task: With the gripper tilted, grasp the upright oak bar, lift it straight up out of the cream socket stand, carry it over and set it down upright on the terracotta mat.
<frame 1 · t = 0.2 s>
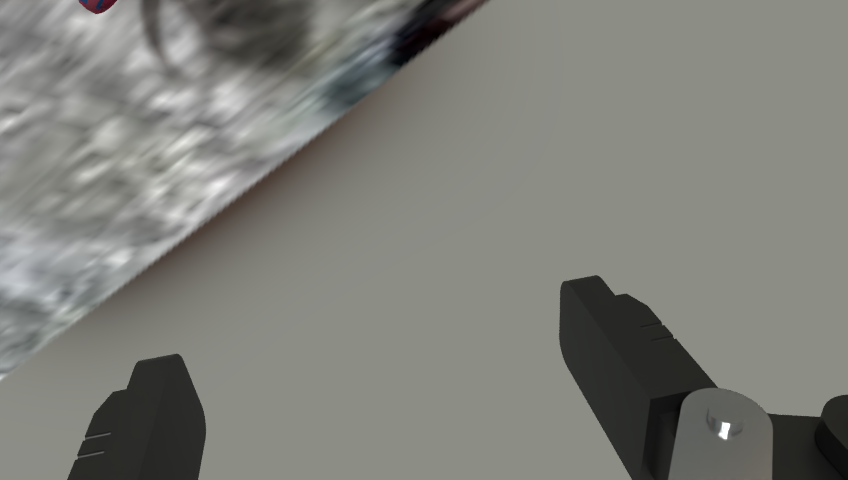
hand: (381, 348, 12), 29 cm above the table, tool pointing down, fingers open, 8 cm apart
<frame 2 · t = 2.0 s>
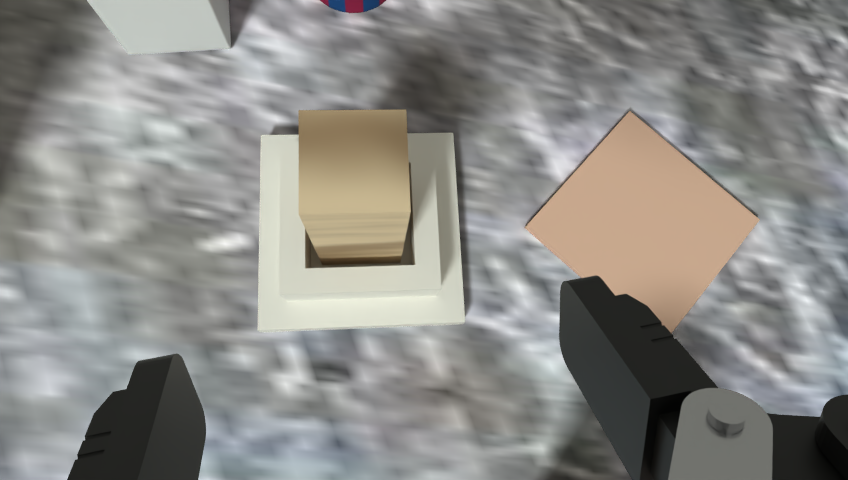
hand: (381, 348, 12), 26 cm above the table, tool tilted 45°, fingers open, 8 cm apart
terracotta mat: (642, 224, 42), on the table
socket stand: (361, 232, 40), on the table
oak bar: (360, 226, 39), point 1 cm above the table, touching socket stand
milk carton: (180, 11, 43), on the table
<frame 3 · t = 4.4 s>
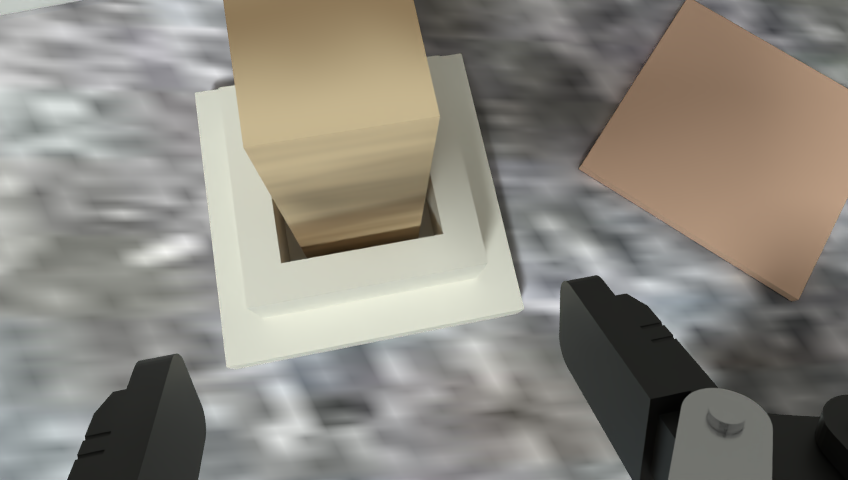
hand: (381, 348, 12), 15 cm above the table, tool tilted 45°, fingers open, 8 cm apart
terracotta mat: (734, 142, 31), on the table
socket stand: (355, 207, 29), on the table
oak bar: (353, 197, 27), point 1 cm above the table, touching socket stand
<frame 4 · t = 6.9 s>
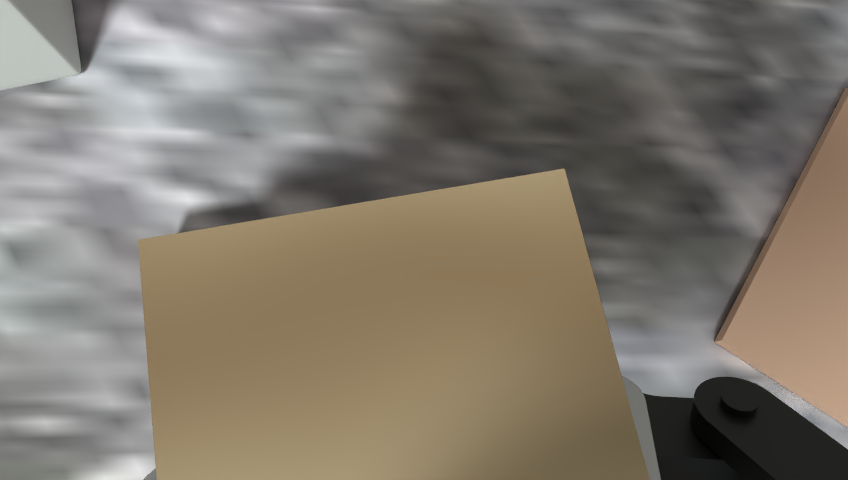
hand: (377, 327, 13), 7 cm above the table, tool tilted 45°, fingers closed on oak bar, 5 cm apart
oak bar: (392, 408, 18), point 2 cm above the table, touching gripper, socket stand
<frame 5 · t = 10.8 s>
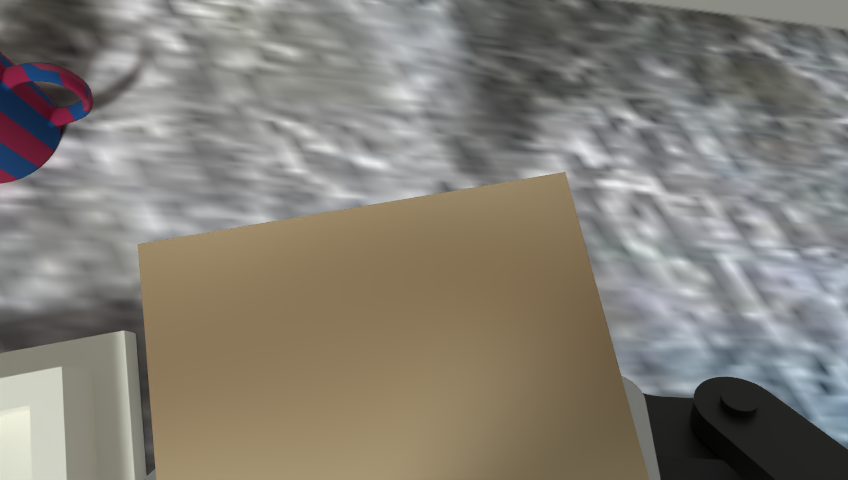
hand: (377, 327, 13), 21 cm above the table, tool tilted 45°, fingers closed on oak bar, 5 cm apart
mug: (35, 134, 36), on the table
oak bar: (392, 410, 18), point 16 cm above the table, touching gripper
when the fingers open (7 cm above the table, at t = 14.5 s): oak bar drops 1 cm, resting on terracotta mat.
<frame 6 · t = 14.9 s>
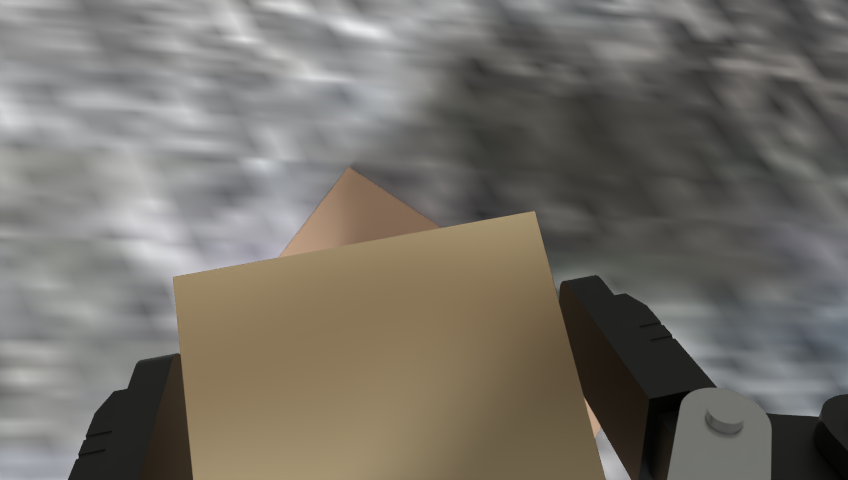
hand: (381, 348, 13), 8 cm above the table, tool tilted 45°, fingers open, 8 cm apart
terracotta mat: (391, 408, 20), on the table
oak bar: (391, 412, 19), resting on terracotta mat
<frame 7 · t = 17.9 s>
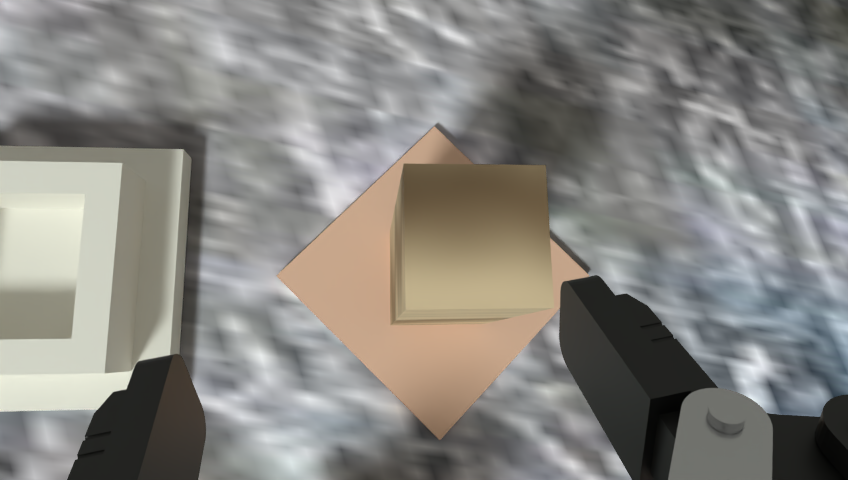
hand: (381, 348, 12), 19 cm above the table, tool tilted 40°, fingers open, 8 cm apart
terracotta mat: (435, 276, 32), on the table
socket stand: (53, 277, 30), on the table
oak bar: (436, 277, 32), resting on terracotta mat
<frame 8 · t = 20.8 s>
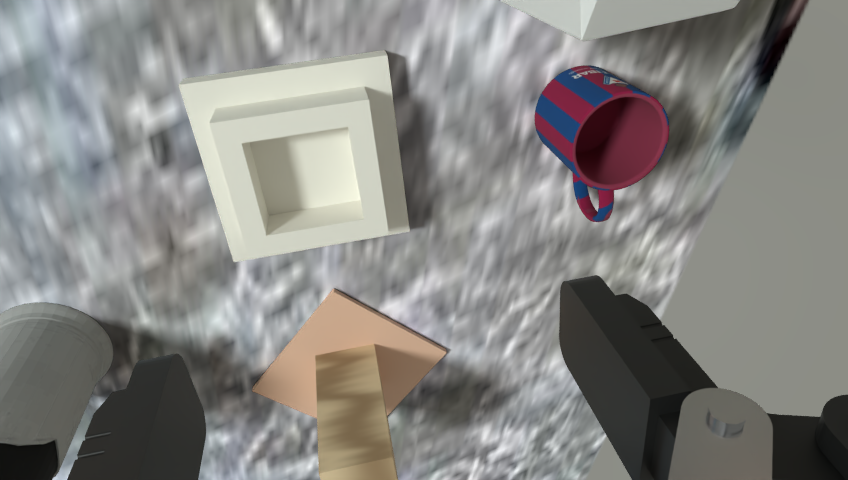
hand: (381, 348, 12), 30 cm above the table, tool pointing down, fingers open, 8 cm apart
terracotta mat: (350, 367, 52), on the table
socket stand: (305, 157, 42), on the table
mug: (572, 131, 45), on the table
oak bar: (349, 371, 51), resting on terracotta mat
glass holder: (48, 374, 47), on the table
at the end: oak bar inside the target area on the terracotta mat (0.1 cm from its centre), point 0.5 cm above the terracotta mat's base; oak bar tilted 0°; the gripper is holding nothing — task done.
